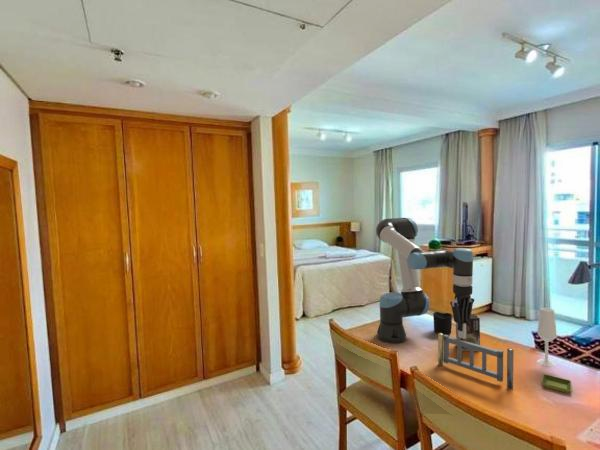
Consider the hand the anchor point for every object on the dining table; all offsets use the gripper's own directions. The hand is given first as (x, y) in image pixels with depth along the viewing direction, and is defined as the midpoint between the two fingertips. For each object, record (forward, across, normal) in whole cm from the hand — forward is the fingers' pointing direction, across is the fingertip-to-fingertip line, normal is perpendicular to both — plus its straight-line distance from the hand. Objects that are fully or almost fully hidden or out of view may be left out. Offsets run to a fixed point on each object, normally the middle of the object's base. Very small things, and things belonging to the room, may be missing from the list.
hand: (462, 337), depth 142 cm
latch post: (+13, -8, +5) cm, 15 cm away
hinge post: (+12, 0, -20) cm, 24 cm away
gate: (+11, -3, -7) cm, 13 cm away
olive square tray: (+13, +16, -28) cm, 35 cm away
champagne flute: (+13, +33, -17) cm, 39 cm away
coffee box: (+13, +17, +9) cm, 24 cm away
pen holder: (+13, +24, +29) cm, 40 cm away
